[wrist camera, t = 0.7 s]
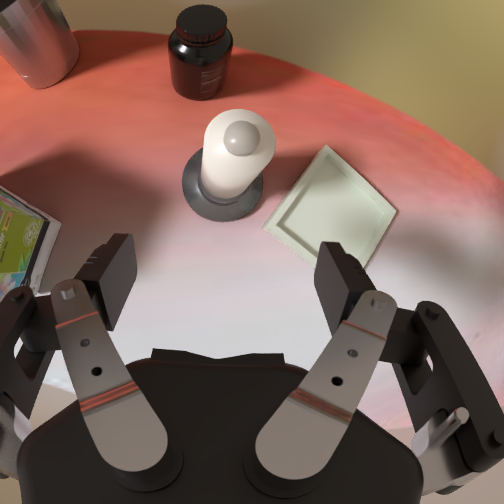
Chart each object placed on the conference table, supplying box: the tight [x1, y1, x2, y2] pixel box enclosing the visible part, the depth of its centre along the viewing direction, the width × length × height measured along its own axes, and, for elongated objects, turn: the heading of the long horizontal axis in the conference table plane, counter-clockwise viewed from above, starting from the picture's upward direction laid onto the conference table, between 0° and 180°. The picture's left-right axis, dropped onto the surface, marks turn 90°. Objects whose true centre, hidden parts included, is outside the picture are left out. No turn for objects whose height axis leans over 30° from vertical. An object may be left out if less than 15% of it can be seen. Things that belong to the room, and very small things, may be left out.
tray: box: [262, 145, 396, 269], centre depth 35 cm, size 13×13×2 cm
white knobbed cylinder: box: [201, 109, 276, 199], centre depth 24 cm, size 5×5×11 cm
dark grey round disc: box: [182, 148, 263, 222], centre depth 31 cm, size 9×9×4 cm
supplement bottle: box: [168, 5, 233, 100], centre depth 27 cm, size 7×7×12 cm
